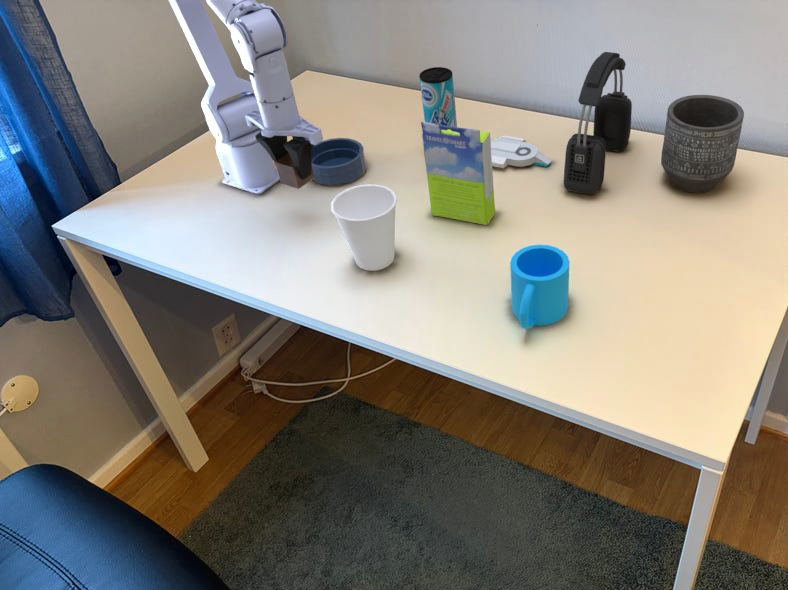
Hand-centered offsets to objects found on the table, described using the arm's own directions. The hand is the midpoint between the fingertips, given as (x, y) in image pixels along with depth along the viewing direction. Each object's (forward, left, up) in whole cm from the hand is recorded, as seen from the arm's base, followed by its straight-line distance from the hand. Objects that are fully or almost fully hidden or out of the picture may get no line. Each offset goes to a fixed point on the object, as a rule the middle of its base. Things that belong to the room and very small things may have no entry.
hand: (295, 173), depth 122 cm
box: (+25, +12, -9) cm, 29 cm away
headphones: (+39, +36, -9) cm, 54 cm away
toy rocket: (+23, +32, -9) cm, 40 cm away
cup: (+19, -5, -9) cm, 21 cm away
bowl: (-4, +14, -8) cm, 17 cm away
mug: (+48, -5, -9) cm, 49 cm away
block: (0, 0, -1) cm, 1 cm away
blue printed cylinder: (+10, +29, -9) cm, 32 cm away
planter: (+56, +39, -9) cm, 69 cm away
